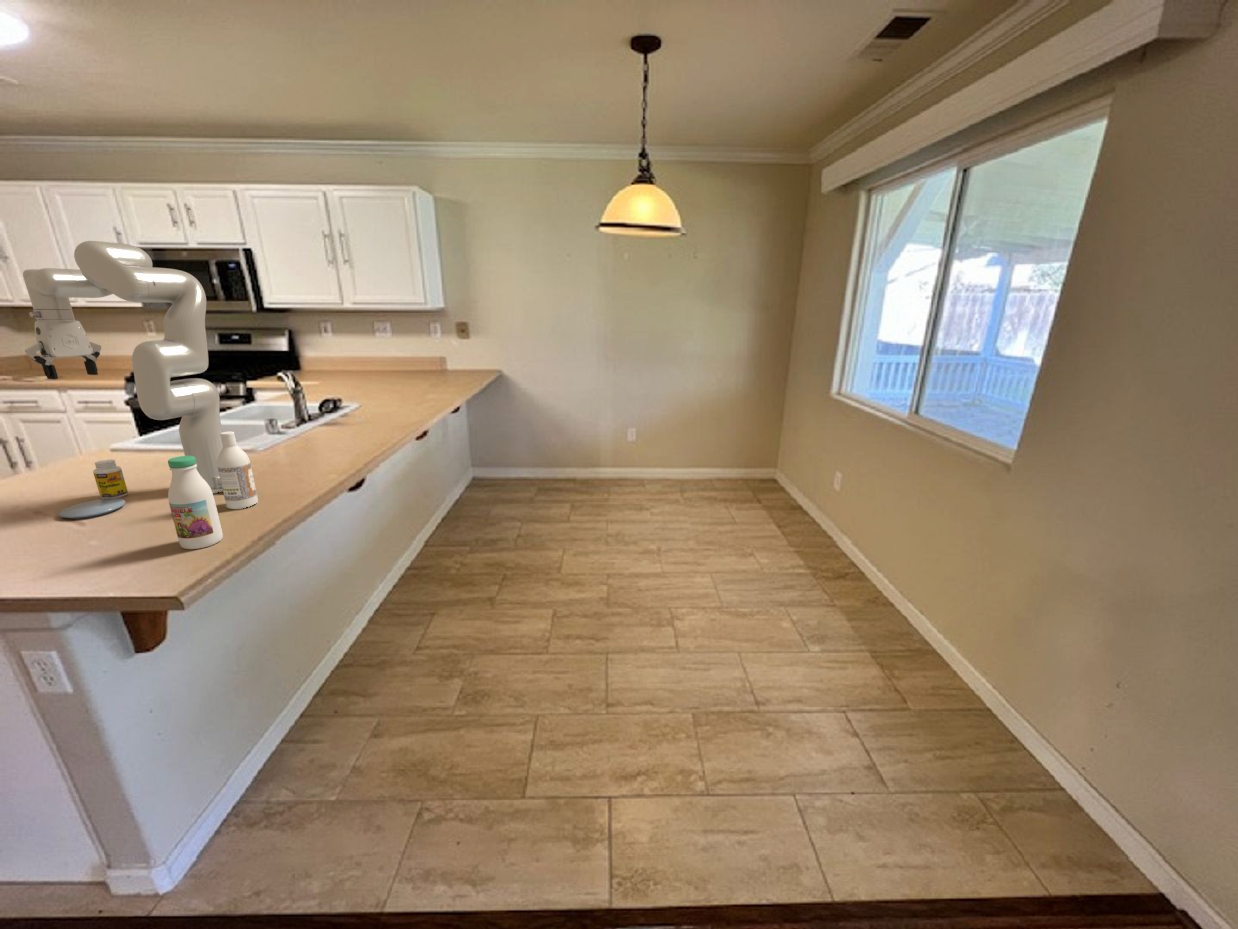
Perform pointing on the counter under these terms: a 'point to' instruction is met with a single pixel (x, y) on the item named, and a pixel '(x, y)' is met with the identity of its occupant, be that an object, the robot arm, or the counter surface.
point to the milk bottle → (192, 505)
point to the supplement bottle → (109, 479)
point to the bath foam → (235, 474)
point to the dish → (92, 508)
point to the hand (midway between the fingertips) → (73, 376)
